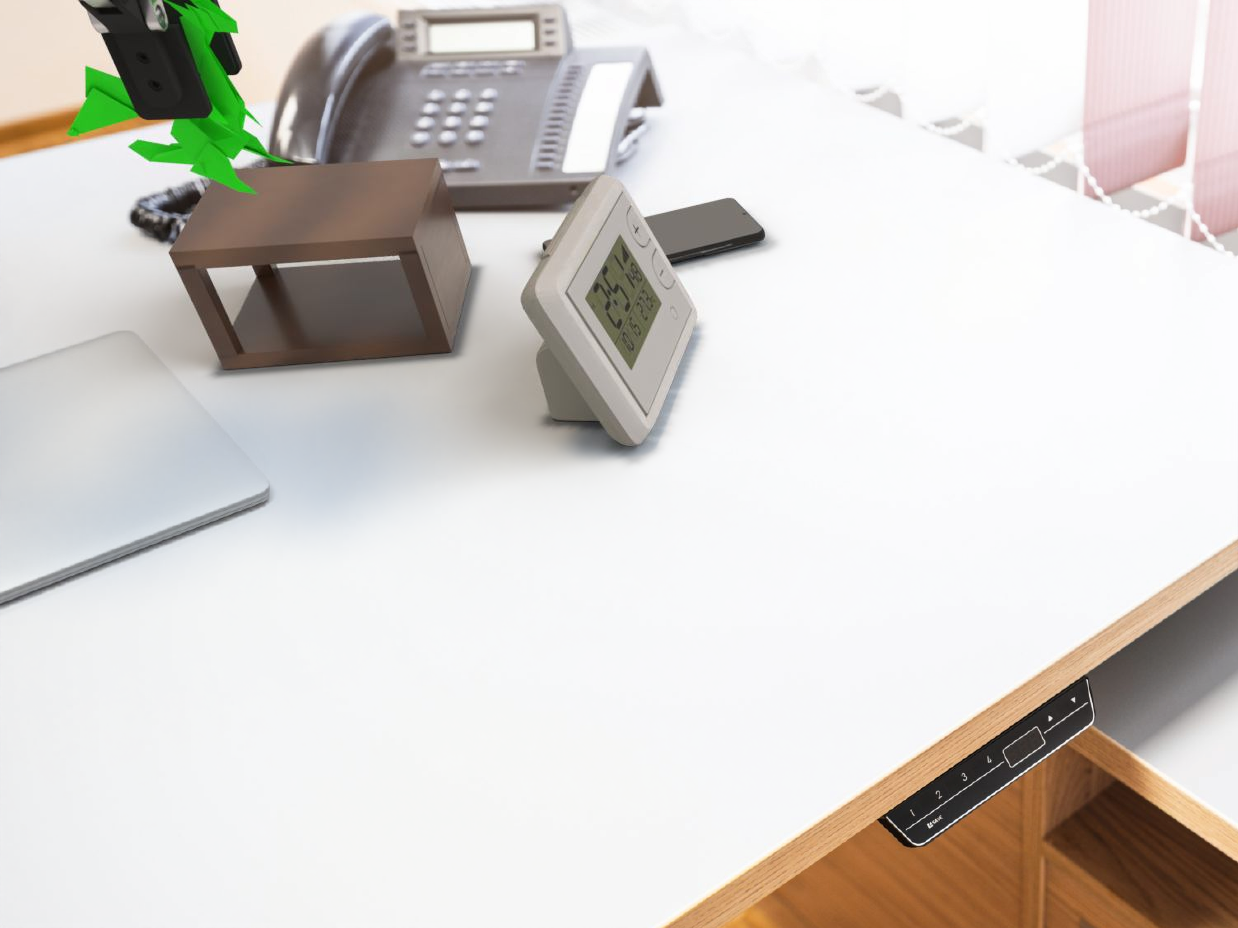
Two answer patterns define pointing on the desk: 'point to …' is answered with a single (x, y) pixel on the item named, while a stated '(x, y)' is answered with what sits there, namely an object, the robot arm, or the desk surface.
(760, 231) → the smartphone
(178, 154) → the figurine
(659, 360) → the digital clock
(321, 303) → the stand
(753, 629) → the desk surface
